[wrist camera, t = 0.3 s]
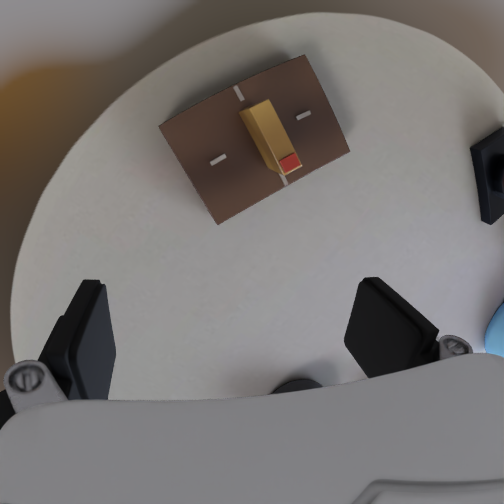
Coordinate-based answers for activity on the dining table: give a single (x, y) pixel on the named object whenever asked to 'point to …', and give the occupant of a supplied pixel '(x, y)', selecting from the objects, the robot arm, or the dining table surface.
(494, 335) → the sugar bowl
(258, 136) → the lock knob
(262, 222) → the dining table surface
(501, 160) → the button block
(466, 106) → the dining table surface
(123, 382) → the dining table surface
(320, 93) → the panel
